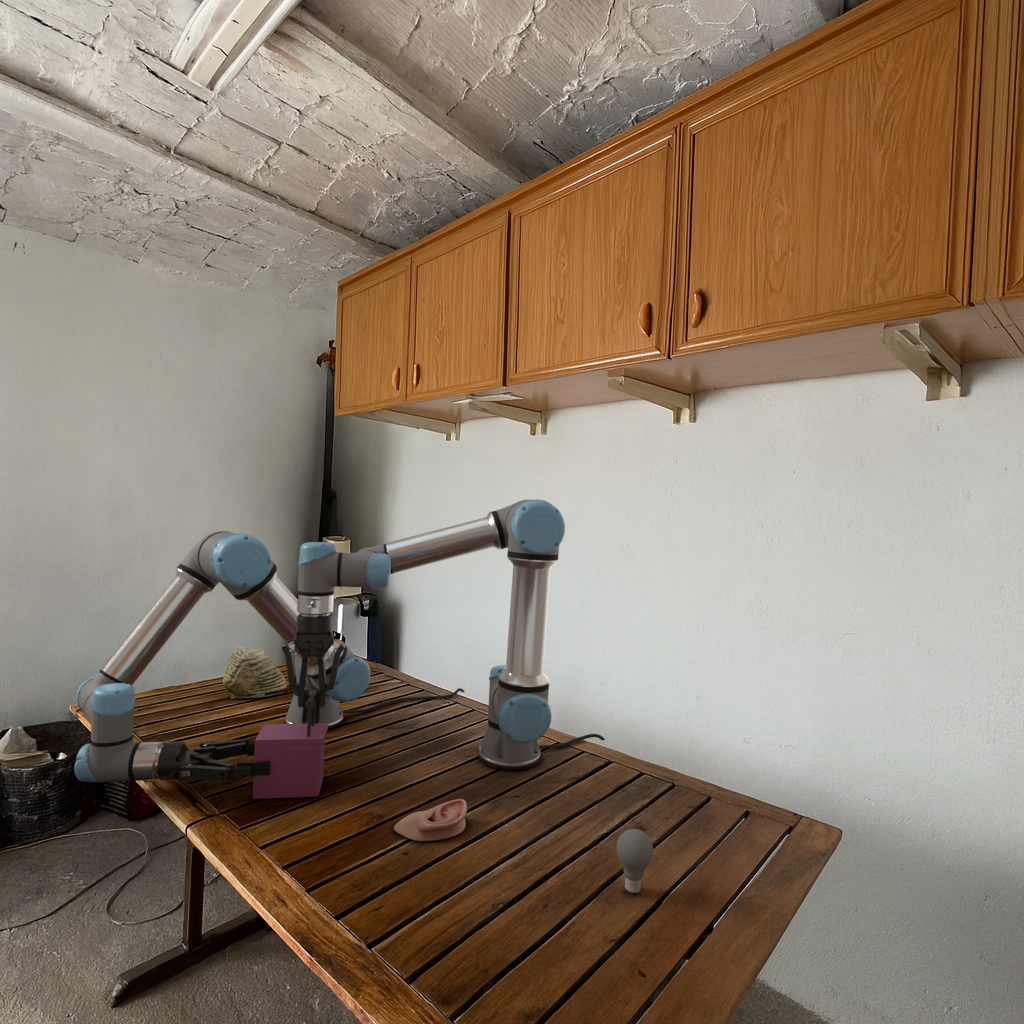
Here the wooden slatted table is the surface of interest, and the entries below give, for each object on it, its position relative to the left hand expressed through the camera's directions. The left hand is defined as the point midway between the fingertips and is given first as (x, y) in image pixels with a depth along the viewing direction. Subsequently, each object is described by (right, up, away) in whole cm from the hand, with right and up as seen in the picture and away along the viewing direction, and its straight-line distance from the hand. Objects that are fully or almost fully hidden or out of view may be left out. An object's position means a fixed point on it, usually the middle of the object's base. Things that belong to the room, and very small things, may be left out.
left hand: (274, 758), depth 137 cm
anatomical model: (+35, -8, -13) cm, 39 cm away
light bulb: (+71, -10, -31) cm, 78 cm away
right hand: (+8, +8, +1) cm, 11 cm away
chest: (+3, -7, +1) cm, 7 cm away
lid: (+4, +4, +1) cm, 6 cm away
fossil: (-29, -4, +62) cm, 68 cm away
